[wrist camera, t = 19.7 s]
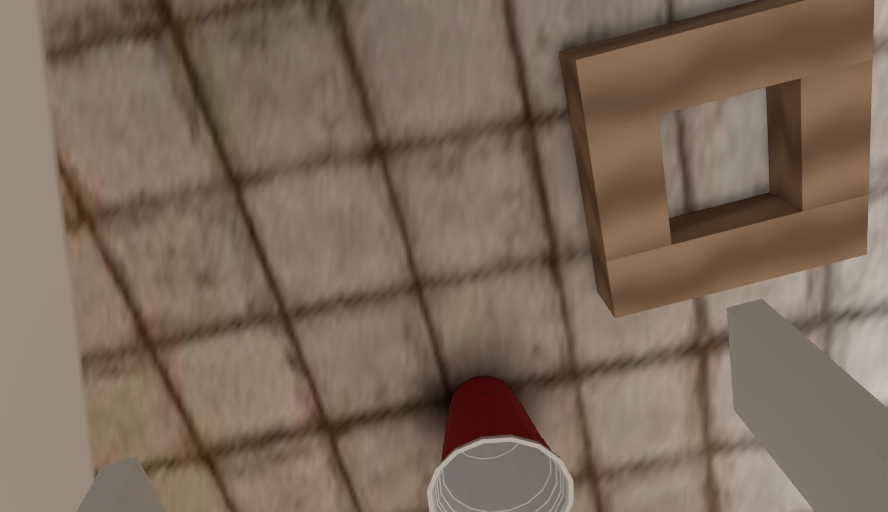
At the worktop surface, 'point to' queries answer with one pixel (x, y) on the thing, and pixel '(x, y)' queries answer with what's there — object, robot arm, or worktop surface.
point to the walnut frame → (789, 140)
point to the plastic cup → (496, 457)
